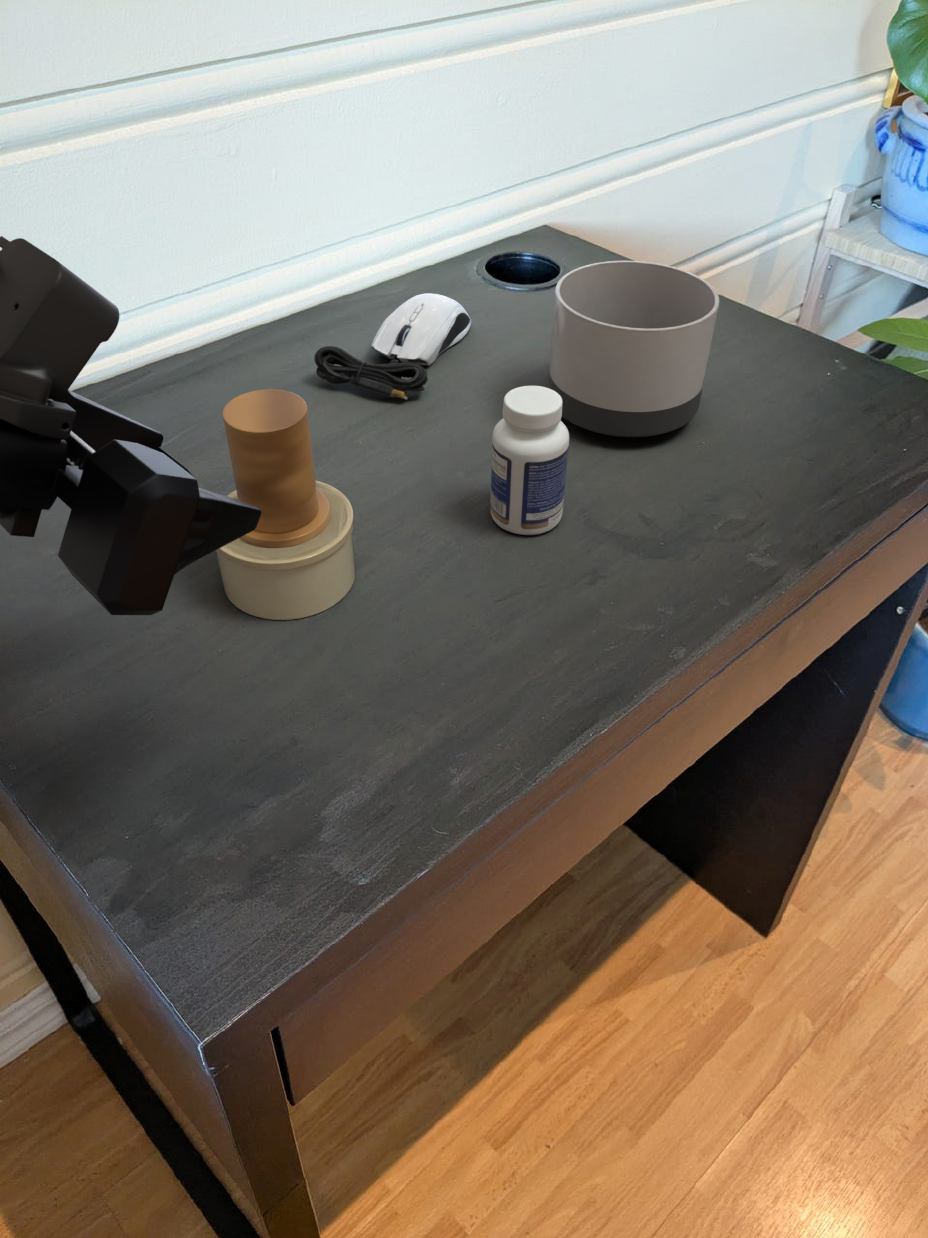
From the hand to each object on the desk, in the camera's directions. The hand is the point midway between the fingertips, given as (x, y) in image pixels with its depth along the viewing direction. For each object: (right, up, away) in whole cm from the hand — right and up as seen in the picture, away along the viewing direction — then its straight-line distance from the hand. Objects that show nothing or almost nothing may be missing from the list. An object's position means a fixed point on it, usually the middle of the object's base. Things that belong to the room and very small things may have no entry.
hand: (206, 478), depth 49 cm
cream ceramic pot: (+1, -4, +17) cm, 17 cm away
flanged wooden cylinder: (+1, -1, +14) cm, 14 cm away
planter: (+27, +11, +34) cm, 44 cm away
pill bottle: (+18, 0, +22) cm, 29 cm away
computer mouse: (+8, +18, +41) cm, 45 cm away
